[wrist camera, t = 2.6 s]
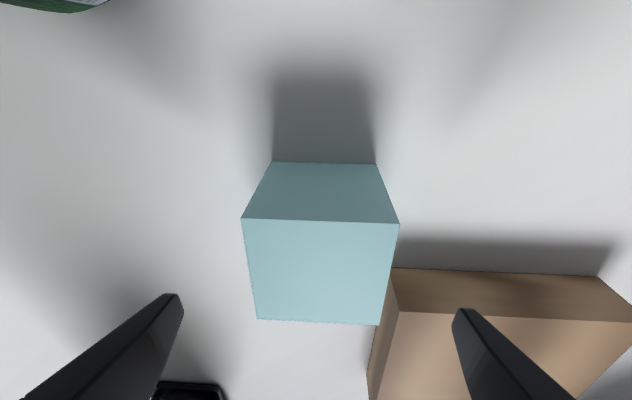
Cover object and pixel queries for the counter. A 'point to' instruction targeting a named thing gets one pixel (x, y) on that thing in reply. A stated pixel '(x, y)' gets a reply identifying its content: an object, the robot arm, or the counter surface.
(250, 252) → the teal cube
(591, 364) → the walnut plinth
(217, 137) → the counter surface
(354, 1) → the counter surface
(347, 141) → the counter surface
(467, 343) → the robot arm
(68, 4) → the coffee jar
